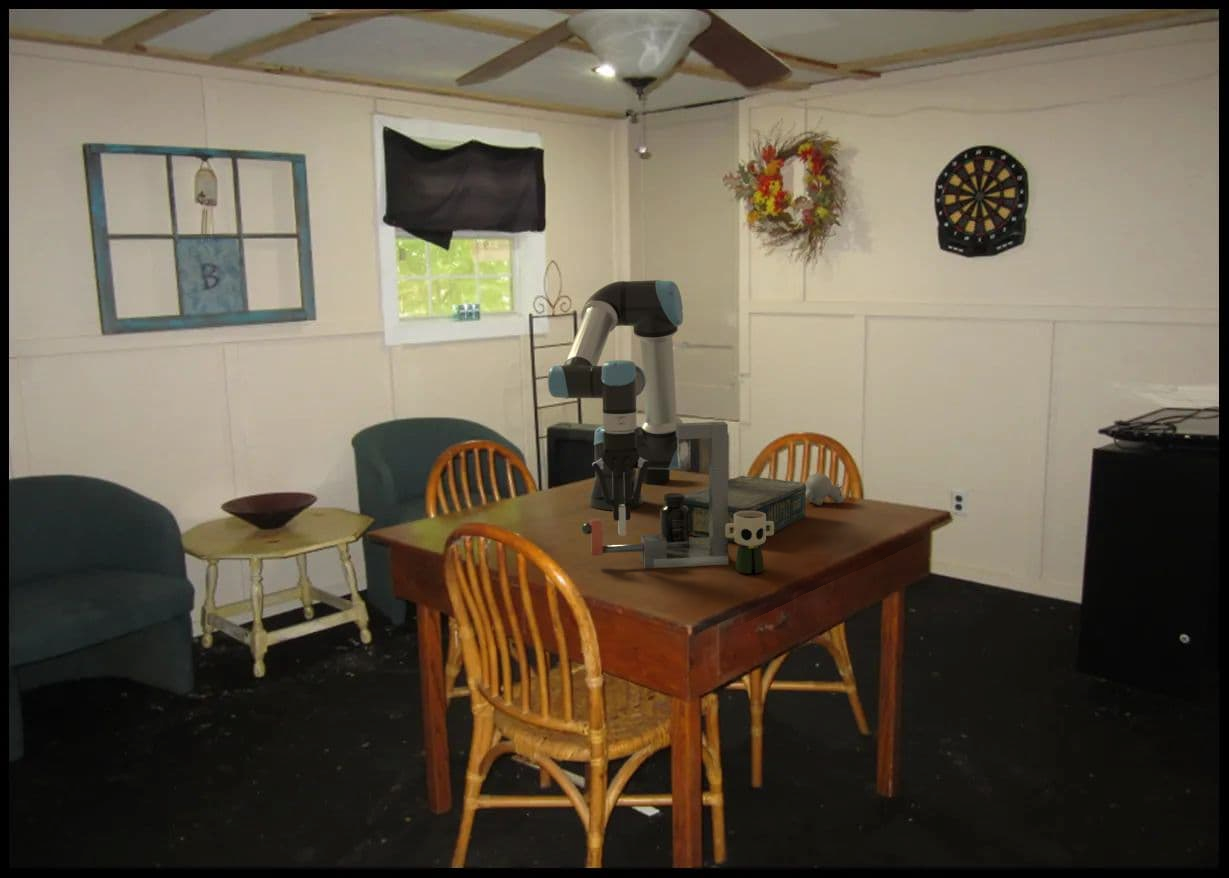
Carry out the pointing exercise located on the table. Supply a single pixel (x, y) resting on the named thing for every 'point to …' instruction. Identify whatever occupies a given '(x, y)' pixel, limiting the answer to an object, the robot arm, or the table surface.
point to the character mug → (749, 539)
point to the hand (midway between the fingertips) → (622, 533)
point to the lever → (599, 549)
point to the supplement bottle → (674, 518)
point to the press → (716, 544)
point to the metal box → (751, 503)
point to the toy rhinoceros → (822, 489)
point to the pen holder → (656, 476)
